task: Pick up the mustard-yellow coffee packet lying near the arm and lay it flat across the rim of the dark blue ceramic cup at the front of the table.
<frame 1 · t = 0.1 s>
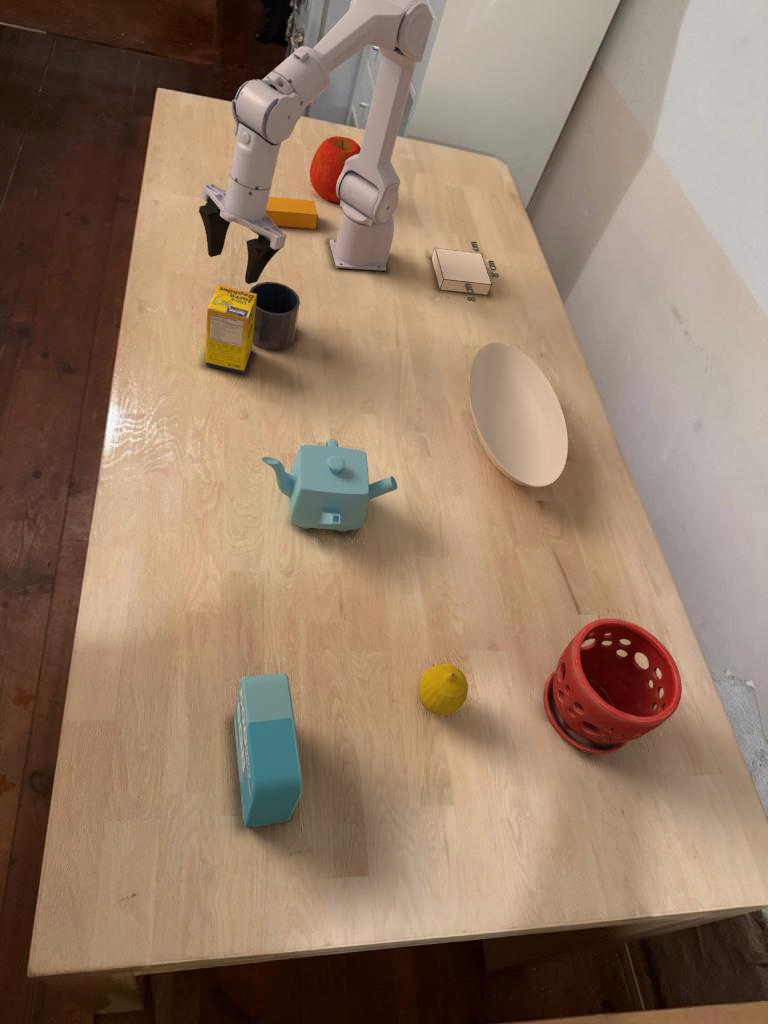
hand: (232, 268, 111), 11 cm above the table, tool pointing down, fingers open, 7 cm apart
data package: (259, 769, 79), on the table
teapot: (322, 514, 101), on the table
flower pot: (582, 709, 92), on the table
bowl: (503, 436, 118), on the table
fruit: (433, 703, 88), on the table
supplement box: (228, 358, 114), on the table
apple: (334, 192, 149), on the table
cup: (269, 333, 120), on the table
container: (463, 277, 141), on the table
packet: (287, 219, 139), on the table
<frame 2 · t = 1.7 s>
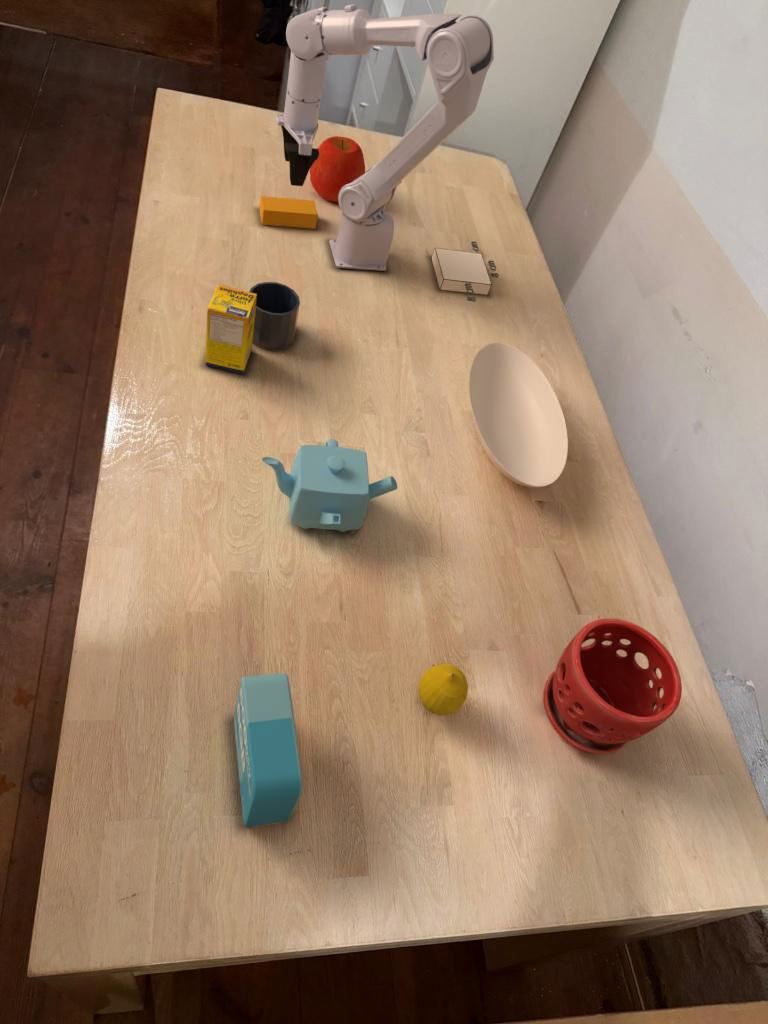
hand: (293, 172, 132), 9 cm above the table, tool pointing down, fingers open, 7 cm apart
nothing on the table moved.
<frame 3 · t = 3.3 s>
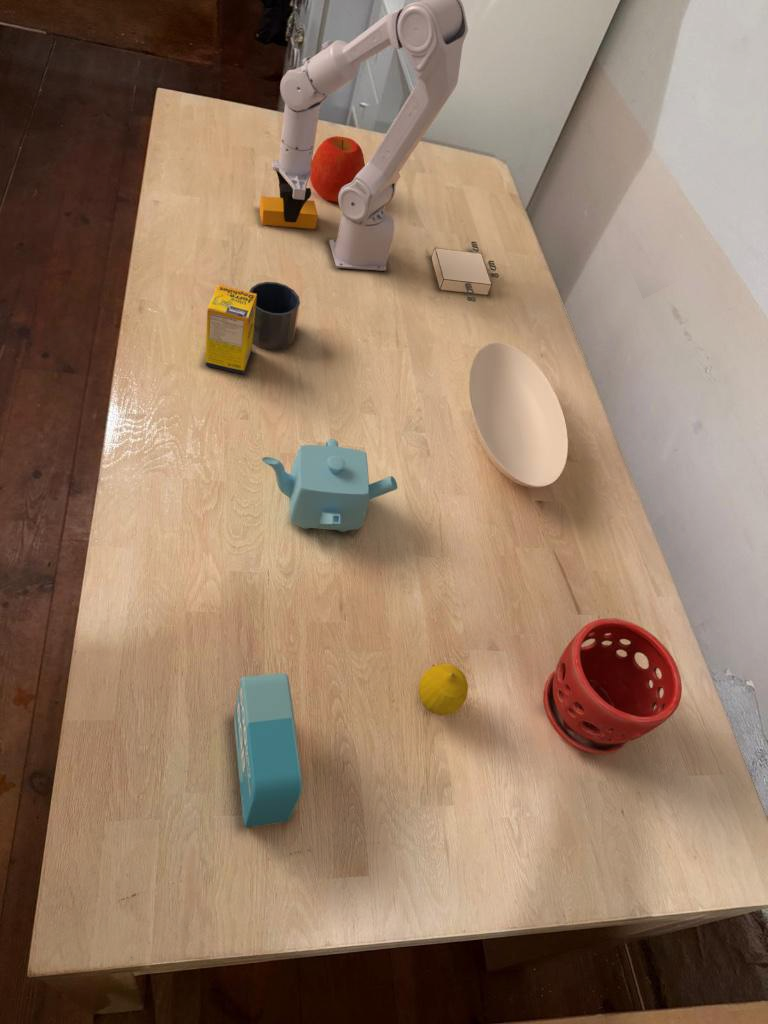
hand: (288, 212, 138), 1 cm above the table, tool pointing down, fingers closed on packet, 4 cm apart
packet: (287, 219, 139), on the table, touching gripper
everything else where it was.
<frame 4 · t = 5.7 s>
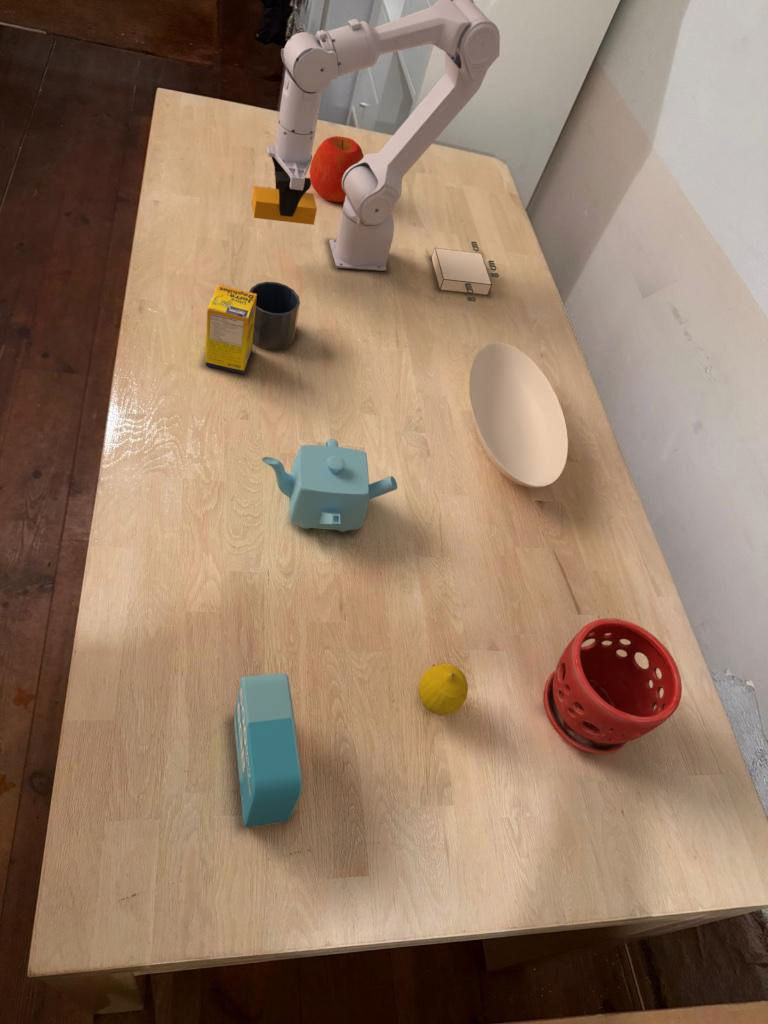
hand: (284, 205, 123), 10 cm above the table, tool pointing down, fingers closed on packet, 4 cm apart
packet: (282, 213, 124), point 9 cm above the table, touching gripper
everything else where it was.
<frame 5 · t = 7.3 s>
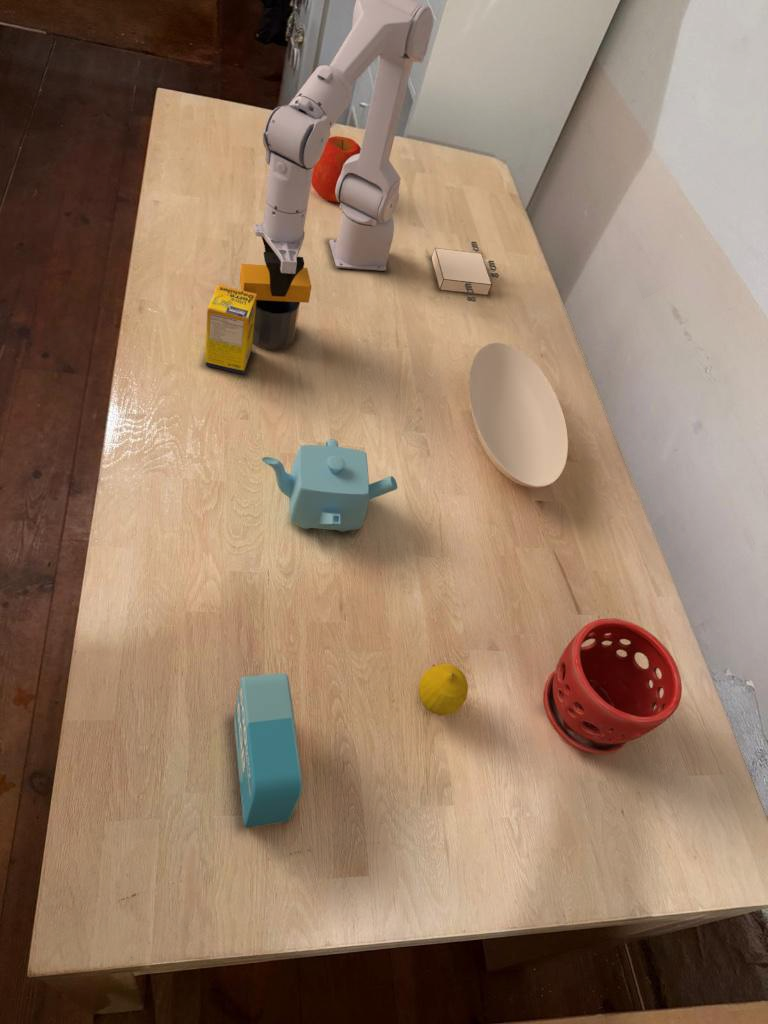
hand: (276, 283, 112), 10 cm above the table, tool pointing down, fingers closed on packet, 4 cm apart
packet: (274, 291, 113), point 8 cm above the table, touching gripper
everything else where it was.
when the fingers open (8 cm above the table, at t = 8.2 s): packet stays where it is, resting on cup.
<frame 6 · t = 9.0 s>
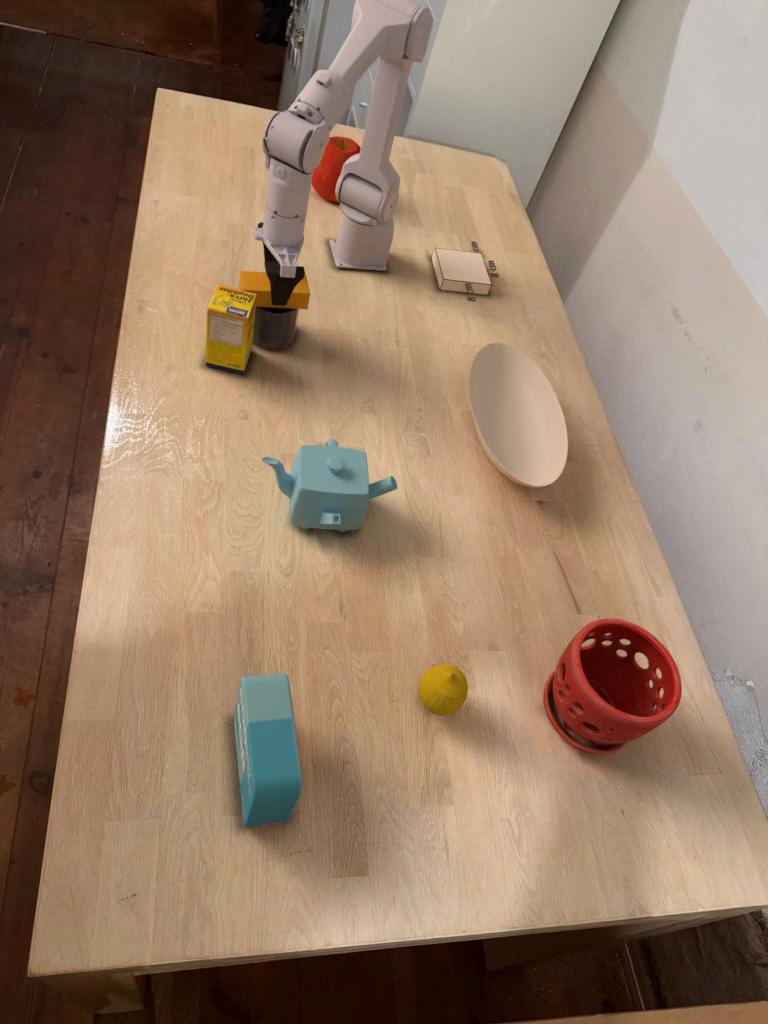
hand: (275, 287, 113), 9 cm above the table, tool pointing down, fingers open, 7 cm apart
cup: (269, 333, 120), on the table, touching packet
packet: (273, 298, 114), point 7 cm above the table, touching cup
everything else where it was.
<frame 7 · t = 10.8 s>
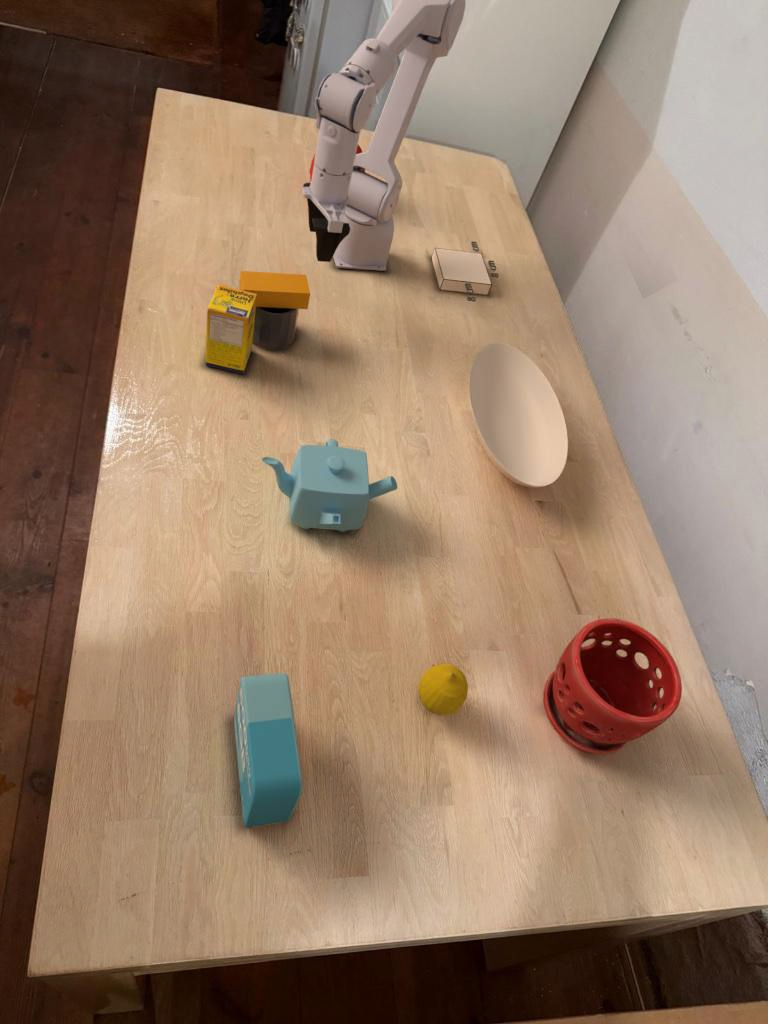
hand: (319, 245, 119), 10 cm above the table, tool pointing down, fingers open, 7 cm apart
nothing on the table moved.
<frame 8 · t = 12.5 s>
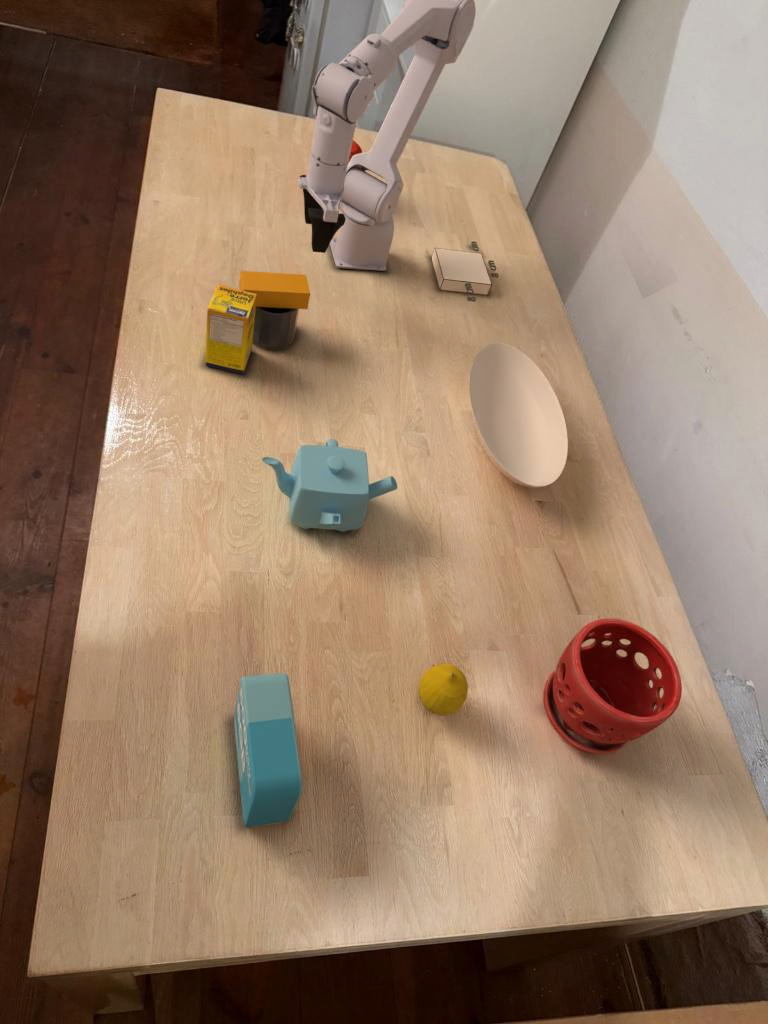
hand: (315, 236, 120), 10 cm above the table, tool pointing down, fingers open, 7 cm apart
nothing on the table moved.
at the end: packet 0.1 cm off-centre on the cup, point 7.0 cm above the cup's base; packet tilted 0°; cup tilted 0° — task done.
